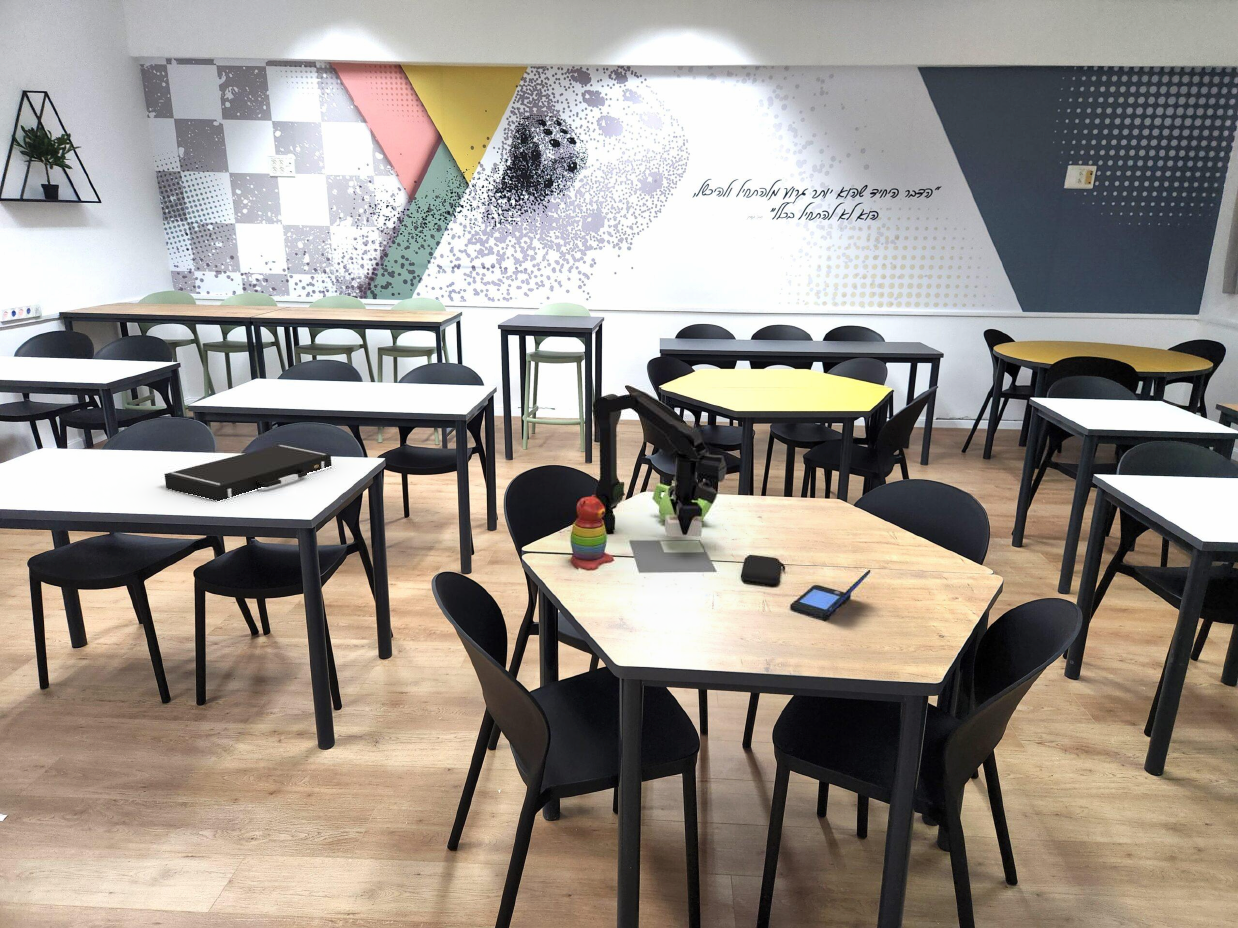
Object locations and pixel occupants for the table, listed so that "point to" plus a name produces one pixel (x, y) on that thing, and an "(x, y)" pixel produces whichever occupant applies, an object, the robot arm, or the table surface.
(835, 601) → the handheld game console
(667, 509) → the teapot
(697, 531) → the box
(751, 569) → the carrying case or bag
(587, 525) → the stacking bear
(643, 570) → the mat
